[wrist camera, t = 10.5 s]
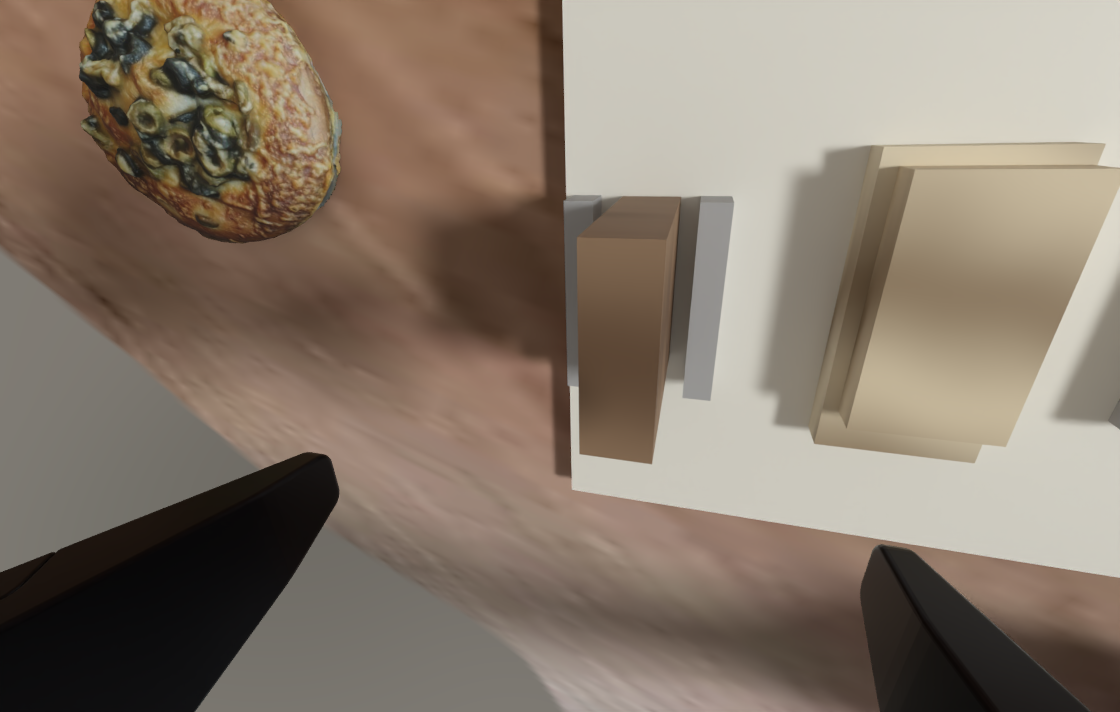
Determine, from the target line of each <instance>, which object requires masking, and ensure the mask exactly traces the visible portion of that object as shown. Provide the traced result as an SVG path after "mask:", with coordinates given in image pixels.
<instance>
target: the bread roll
mask: <svg viewBox="0 0 1120 712" xmlns="http://www.w3.org/2000/svg"><path fill="white" fill-rule="evenodd" d="M79 48H80V51H81V54H80V56H81V62H80V74H79V78H80V80H81V81H83V85H82V96H83V97H84V98H85V100H86V102H87V103H88V112H89V113H90V115H91V116H89V117H88V118H86V119H84V120H82V121H81V127H82V128H83V130H84V131H86V132H87V133H88V134H89V135H91V136H92V137H93V139H94V141H95V142H96V143H97V144H98V146H99V147H100V148H101V149H102V150H103V151H104V152H105V154H106V157H107V159H108V161H110V162H111V163H112V164H113V165H114V166H115V167H116V168H117V169H118V170H119V172H120V173H121V174H122V176H123V177H124V178H125V180H126V181H127V182H128V183H129V184H130V185H131V186H132V187H133V188H135V189H136V190H137V191H139V192H141V193H143V194H144V195H145V196H147V197H148V198H149V199H151V200H152V201H154V202H155V203H157V204H158V205H160V206H161V207H162V208H163V209H164V210H165V211H166V213H167V214H169V215H170V216H172V217H173V218H175V219H176V220H177V221H178V222H179V223H181V224H183V225H185V226H187V227H189V228H192V229H194V230H196V231H198V232H199V233H200V234H201V235H202V236H204V237H206V238H209V239H213V240H217V241H221V242H229V243H246V242H254V241H262V240H266V239H270V238H275V237H277V236H279V235H281V234H284V233H287V232H290V231H291V230H293V229H295V228H296V227H298V226H300V225H301V224H303V223H304V222H306V221H307V220H308V219H309V218H310V217H312V215H313V213H314V212H315V211H316V210H317V209H319V207H320V208H321V206H324V203H326V202H327V201H326V200H327V199H329V198H330V195H332V194H331V193H332V192H333V190H335V186H336V181H337V179H336V178H337V177H338V174H340V170H341V168H340V165H339V160H340V154H339V144H340V137H341V132H342V130H341V126H342V122H341V119H340V120H338V113H337V112H334V110H333V108H332V101H331V99H330V97H329V95H328V94H327V91H326V89H325V87H324V85H323V83H322V81H321V79H320V77H319V75H318V73H317V71H316V70H315V68H314V67H313V65H312V60H311V58H310V56H309V55H308V53H307V52H306V50H305V48H304V47H303V45H302V44H301V42H300V41H299V40H298V37H297V36H296V34H295V32H294V30H293V29H292V28H291V26H290V25H288V24H287V22H286V21H285V19H284V18H283V17H282V16H281V15H280V14H278V13H277V12H276V11H275V9H274V8H273V6H272V5H271V4H270V3H269V2H268V1H267V0H96V3H95V5H94V9H93V11H92V12H91V15H90V19H89V22H88V24H87V28H85V35H84V37H83V40H82V41H81V42H80V46H79Z"/></svg>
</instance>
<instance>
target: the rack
mask: <svg viewBox="0 0 1120 712" xmlns="http://www.w3.org/2000/svg"><path fill="white" fill-rule="evenodd" d="M562 10H563V60H564V111H565V162H566V200H564V242H565V288H566V334H567V380H568V386H570V417H571V468H572V490H577V491H583V492H589V493H595V494H602V495H608V496H614V497H620V498H626V499H633V500H639V501H645V502H651V503H658V504H664V505H670V506H676V507H682V508H689V509H695V510H701V511H707V512H714V513H720V514H726V515H732V516H739V517H745V518H751V519H757V520H763V521H770V522H776V523H782V524H788V525H795V526H801V527H807V528H813V529H819V530H826V531H832V532H838V533H844V534H851V535H857V536H863V537H869V538H876V539H882V540H888V541H894V542H900V543H907V544H913V545H919V546H925V547H932V548H938V549H944V550H950V551H956V552H963V553H969V554H975V555H981V556H988V557H994V558H1000V559H1006V560H1012V561H1019V562H1025V563H1031V564H1037V565H1044V566H1050V567H1056V568H1062V569H1069V570H1075V571H1081V572H1087V573H1093V574H1100V575H1106V576H1112V577H1118V578H1120V187H1119V189H1118V191H1117V194H1116V196H1115V198H1114V200H1113V203H1112V205H1111V207H1110V210H1109V212H1108V214H1107V216H1106V219H1105V221H1104V223H1103V226H1102V228H1101V230H1100V232H1099V235H1098V237H1097V239H1096V242H1095V244H1094V246H1093V248H1092V251H1091V253H1090V255H1089V258H1088V260H1087V262H1086V264H1085V267H1084V269H1083V271H1082V274H1081V276H1080V278H1079V281H1078V283H1077V285H1076V287H1075V290H1074V292H1073V294H1072V297H1071V299H1070V301H1069V303H1068V306H1067V308H1066V310H1065V313H1064V315H1063V317H1062V319H1061V322H1060V324H1059V326H1058V329H1057V331H1056V333H1055V335H1054V338H1053V340H1052V342H1051V345H1050V347H1049V349H1048V351H1047V354H1046V356H1045V358H1044V361H1043V363H1042V365H1041V367H1040V370H1039V372H1038V374H1037V377H1036V379H1035V381H1034V383H1033V386H1032V388H1031V390H1030V393H1029V395H1028V397H1027V400H1026V402H1025V404H1024V406H1023V409H1022V411H1021V413H1020V416H1019V418H1018V420H1017V422H1016V425H1015V427H1014V429H1013V432H1012V434H1011V436H1010V438H1009V441H1008V443H1007V445H1006V447H1001V446H992V445H983V444H982V447H981V449H980V452H979V454H978V456H977V459H976V461H975V463H967V462H959V461H951V460H943V459H934V458H926V457H918V456H910V455H901V454H893V453H885V452H877V451H868V450H860V449H852V448H844V447H836V446H827V445H819V444H814V442H813V439H812V436H811V433H810V430H809V427H808V425H809V421H810V416H811V412H812V407H813V403H814V398H815V394H816V389H817V385H818V381H819V376H820V372H821V367H822V363H823V358H824V354H825V349H826V345H827V341H828V336H829V332H830V327H831V323H832V318H833V314H834V309H835V305H836V300H837V296H838V292H839V287H840V283H841V278H842V274H843V269H844V265H845V260H846V256H847V251H848V247H849V243H850V238H851V234H852V229H853V225H854V220H855V216H856V211H857V207H858V202H859V198H860V194H861V189H862V185H863V180H864V176H865V171H866V167H867V162H868V158H869V154H870V149H871V145H911V144H975V143H1038V142H1086V143H1104V144H1106V145H1105V148H1104V150H1103V153H1102V155H1101V157H1100V160H1099V162H1098V165H1099V166H1108V167H1117V168H1120V0H562ZM623 196H670V197H681V208H680V221H679V234H678V248H677V261H676V274H675V288H674V301H673V315H672V328H671V341H670V355H669V362H668V368H667V374H666V380H665V386H664V393H663V399H662V405H661V411H660V418H659V424H658V430H657V436H656V443H655V449H654V455H653V461H652V464H646V463H639V462H632V461H624V460H617V459H610V458H603V457H596V456H589V455H582V454H579V380H578V301H577V237H578V236H579V235H580V234H581V233H582V232H583V231H584V230H585V229H587V228H588V227H589V226H590V225H591V224H592V223H593V222H594V221H596V220H597V219H598V218H599V217H600V216H601V215H602V214H603V213H605V212H606V211H607V210H608V209H609V208H610V207H611V206H612V205H614V204H615V203H616V202H617V201H618V200H619V199H620V198H621V197H623Z"/></svg>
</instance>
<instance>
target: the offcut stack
mask: <svg viewBox="0 0 1120 712" xmlns="http://www.w3.org/2000/svg"><path fill="white" fill-rule="evenodd" d="M1105 145H1106V144H1104V143H1086V142H1038V143H975V144H911V145H871V149H870V154H869V158H868V162H867V167H866V171H865V176H864V180H863V185H862V189H861V194H860V198H859V202H858V207H857V211H856V216H855V220H854V225H853V229H852V234H851V238H850V243H849V247H848V251H847V256H846V260H845V265H844V269H843V274H842V278H841V283H840V287H839V292H838V296H837V300H836V305H835V309H834V314H833V318H832V323H831V327H830V332H829V336H828V341H827V345H826V349H825V354H824V358H823V363H822V367H821V372H820V376H819V381H818V385H817V389H816V394H815V398H814V403H813V407H812V412H811V416H810V421H809V425H808V427H809V430H810V433H811V436H812V439H813V442H814V444H819V445H827V446H836V447H844V448H852V449H860V450H868V451H877V452H885V453H893V454H901V455H910V456H918V457H926V458H934V459H943V460H951V461H959V462H967V463H975V461H976V459H977V456H978V454H979V452H980V449H981V447H982V444H983V445H992V446H1001V447H1006V445H1007V443H1008V441H1009V438H1010V436H1011V434H1012V432H1013V429H1014V427H1015V425H1016V422H1017V420H1018V418H1019V416H1020V413H1021V411H1022V409H1023V406H1024V404H1025V402H1026V400H1027V397H1028V395H1029V393H1030V390H1031V388H1032V386H1033V383H1034V381H1035V379H1036V377H1037V374H1038V372H1039V370H1040V367H1041V365H1042V363H1043V361H1044V358H1045V356H1046V354H1047V351H1048V349H1049V347H1050V345H1051V342H1052V340H1053V338H1054V335H1055V333H1056V331H1057V329H1058V326H1059V324H1060V322H1061V319H1062V317H1063V315H1064V313H1065V310H1066V308H1067V306H1068V303H1069V301H1070V299H1071V297H1072V294H1073V292H1074V290H1075V287H1076V285H1077V283H1078V281H1079V278H1080V276H1081V274H1082V271H1083V269H1084V267H1085V264H1086V262H1087V260H1088V258H1089V255H1090V253H1091V251H1092V248H1093V246H1094V244H1095V242H1096V239H1097V237H1098V235H1099V232H1100V230H1101V228H1102V226H1103V223H1104V221H1105V219H1106V216H1107V214H1108V212H1109V210H1110V207H1111V205H1112V203H1113V200H1114V198H1115V196H1116V194H1117V191H1118V189H1119V187H1120V168H1117V167H1108V166H1099V165H1098V162H1099V160H1100V157H1101V155H1102V153H1103V150H1104V148H1105Z"/></svg>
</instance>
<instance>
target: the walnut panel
mask: <svg viewBox="0 0 1120 712" xmlns="http://www.w3.org/2000/svg"><path fill="white" fill-rule="evenodd" d="M680 208H681V197H670V196H623V197H621V198H620V199H619V200H618V201H617V202H616V203H615V204H614V205H612V206H611V207H610V208H609V209H608V210H607V211H606V212H605V213H603V214H602V215H601V216H600V217H599V218H598V219H597V220H596V221H594V222H593V223H592V224H591V225H590V226H589V227H588V228H587V229H585V230H584V231H583V232H582V233H581V234H580V235H579V236H578V237H577V301H578V380H579V454H582V455H589V456H596V457H603V458H610V459H617V460H624V461H632V462H639V463H646V464H652V461H653V455H654V449H655V443H656V436H657V430H658V424H659V418H660V411H661V405H662V399H663V393H664V386H665V380H666V374H667V368H668V362H669V355H670V341H671V328H672V315H673V301H674V288H675V274H676V261H677V248H678V234H679V221H680Z"/></svg>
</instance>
